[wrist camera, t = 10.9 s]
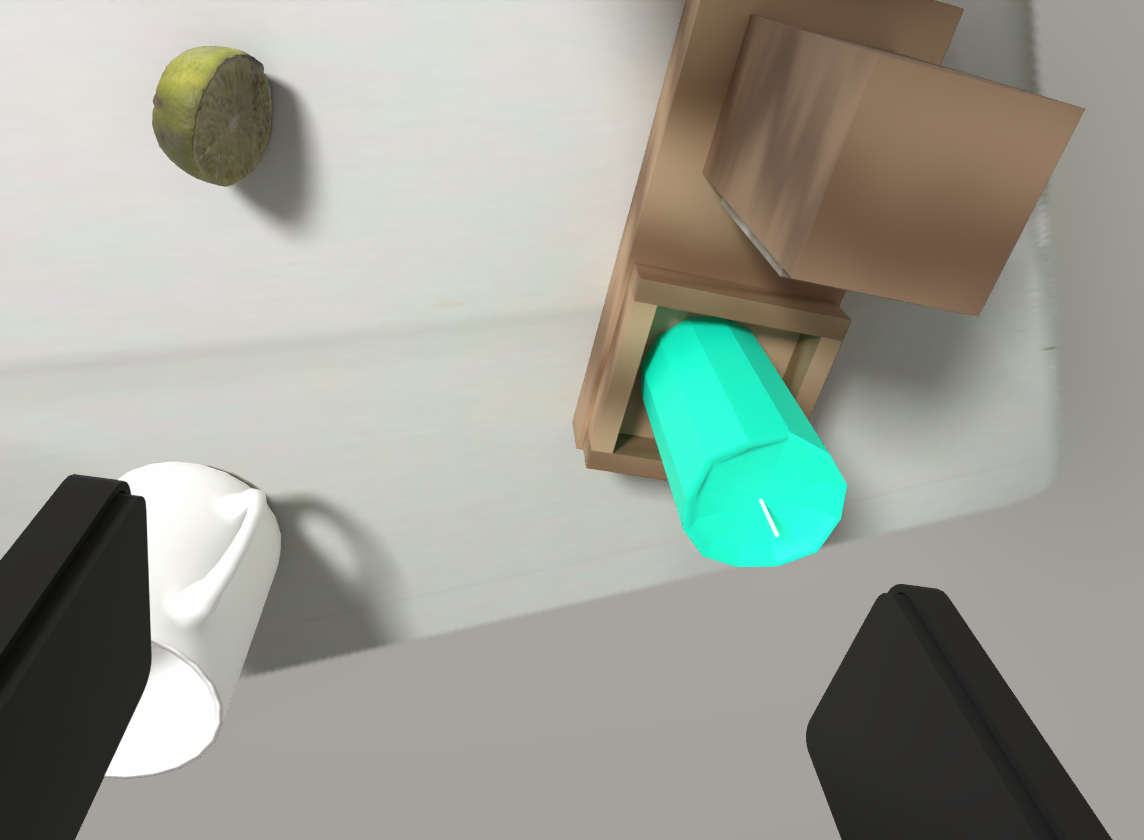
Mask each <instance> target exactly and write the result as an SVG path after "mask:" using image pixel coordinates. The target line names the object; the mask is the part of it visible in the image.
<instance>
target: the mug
mask: <svg viewBox="0 0 1144 840" xmlns="http://www.w3.org/2000/svg"><path fill="white" fill-rule="evenodd" d="M118 480H122V481H125V482H127V483H128V484H129V486H130V490H131V495H138V496H143V497H144V498H145V501H146V509H147V537H148V566H149V595H150V623H151V652H152V662H151V670H150V674H149V678H148V682H147V685H146V688H145V690H144V693H143V695H142V697H141V699H140V701H139V703H138V705H137V708H136V710H135V712H134V714H133V716H132V718H131V720H130V723H129V725H128V727H127V729H126V731H125V733H124V735H123V738H122V740H121V742H120V744H119V746H118V748H117V750H116V753H115V755H114V757H113V759H112V761H111V763H110V765H109V768H108V770H107V772H106V774H105V776H104V778H120V779H130V778H140V777H150V776H156V775H160V774H163V773H167V772H170V771H174V770H177V769H180V768H182V767H184V766H186V765H187V764H189V763H191V762H192V761H194V760H196V759H198V758H200V757H201V756H202V755H203V754H204V753H205V752H206V751H207V750H208V749H209V748H210V747H211V746H212V745H213V744H214V743H215V741H216V739H217V737H218V734H219V732H220V729H221V727H222V725H223V722H224V719H225V717H226V714H227V711H228V708H229V705H230V702H231V699H232V696H233V694H234V691H235V688H236V685H237V682H238V679H239V676H240V673H241V671H242V668H243V665H244V662H245V659H246V656H247V653H248V650H249V648H250V645H251V642H252V639H253V636H254V633H255V630H256V627H257V625H258V622H259V619H260V616H261V613H262V610H263V607H264V605H265V602H266V599H267V596H268V593H269V590H270V587H271V584H272V582H273V579H274V576H275V573H276V570H277V567H278V564H279V558H280V553H281V533H280V530H279V526H278V523H277V520H276V517H275V515H274V514H273V512H272V511H271V509H270V508H269V506H268V505H267V502H266V495H265V493H264V491H262V490H258V489H253V488H250V487H249V486H248V485H247V484H245V483H243V482H242V481H240V480H238V479H236V478H235V477H233V476H231V475H229V474H228V473H226V472H223V471H220V470H217V469H214V468H211V467H208V466H205V465H201V464H193V463H185V462H177V461H176V462H165V463H154V464H149V465H146V466H143V467H140V468H137V469H134V470H131V471H129V472H128V473H126V474H125V475H124V476H122V477H121V478H119V479H118Z"/></svg>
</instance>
